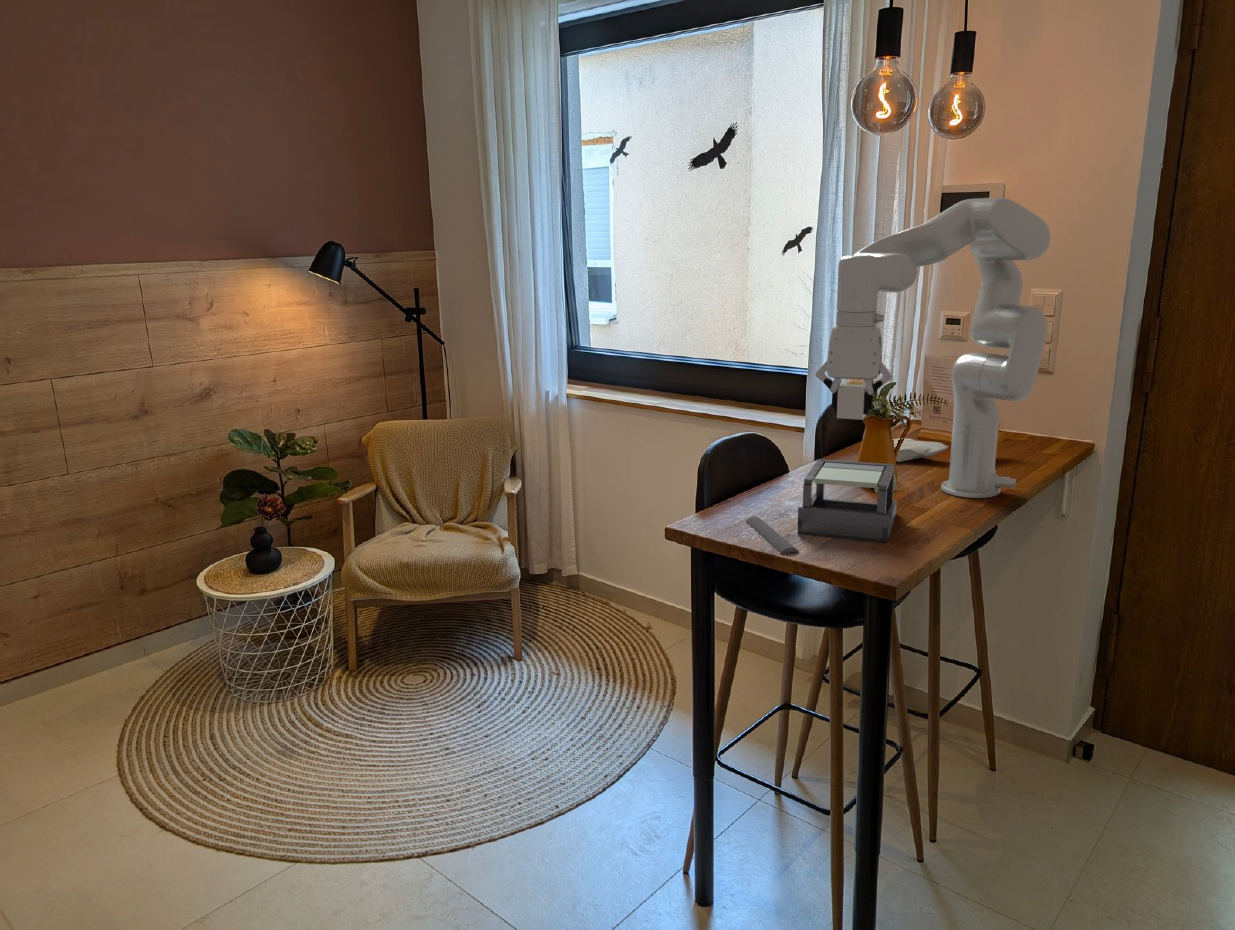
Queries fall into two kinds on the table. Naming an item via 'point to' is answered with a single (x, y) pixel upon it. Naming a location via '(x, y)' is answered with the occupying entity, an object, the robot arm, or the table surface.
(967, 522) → the table surface
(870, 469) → the trapdoor
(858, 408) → the matte off-white cube
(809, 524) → the trapdoor frame
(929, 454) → the rock
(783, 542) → the gray half cylinder
